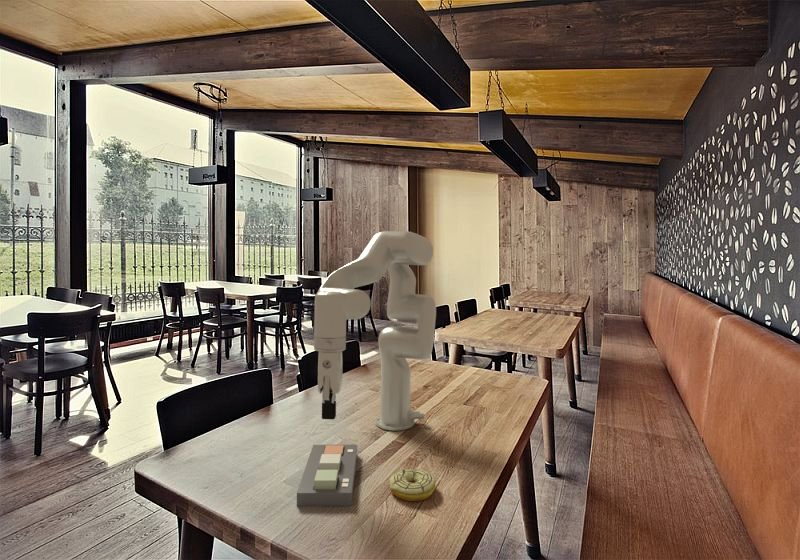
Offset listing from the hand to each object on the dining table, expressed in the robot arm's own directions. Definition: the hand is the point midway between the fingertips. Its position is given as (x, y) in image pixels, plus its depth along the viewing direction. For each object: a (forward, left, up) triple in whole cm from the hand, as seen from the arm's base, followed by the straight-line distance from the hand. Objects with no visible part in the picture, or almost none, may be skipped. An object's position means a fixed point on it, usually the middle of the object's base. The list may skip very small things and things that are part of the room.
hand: (328, 417), depth 109 cm
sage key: (0, +7, -14) cm, 15 cm away
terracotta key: (0, -9, -15) cm, 18 cm away
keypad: (0, -1, -16) cm, 16 cm away
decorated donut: (-20, +5, -16) cm, 26 cm away
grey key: (0, -1, -14) cm, 14 cm away
